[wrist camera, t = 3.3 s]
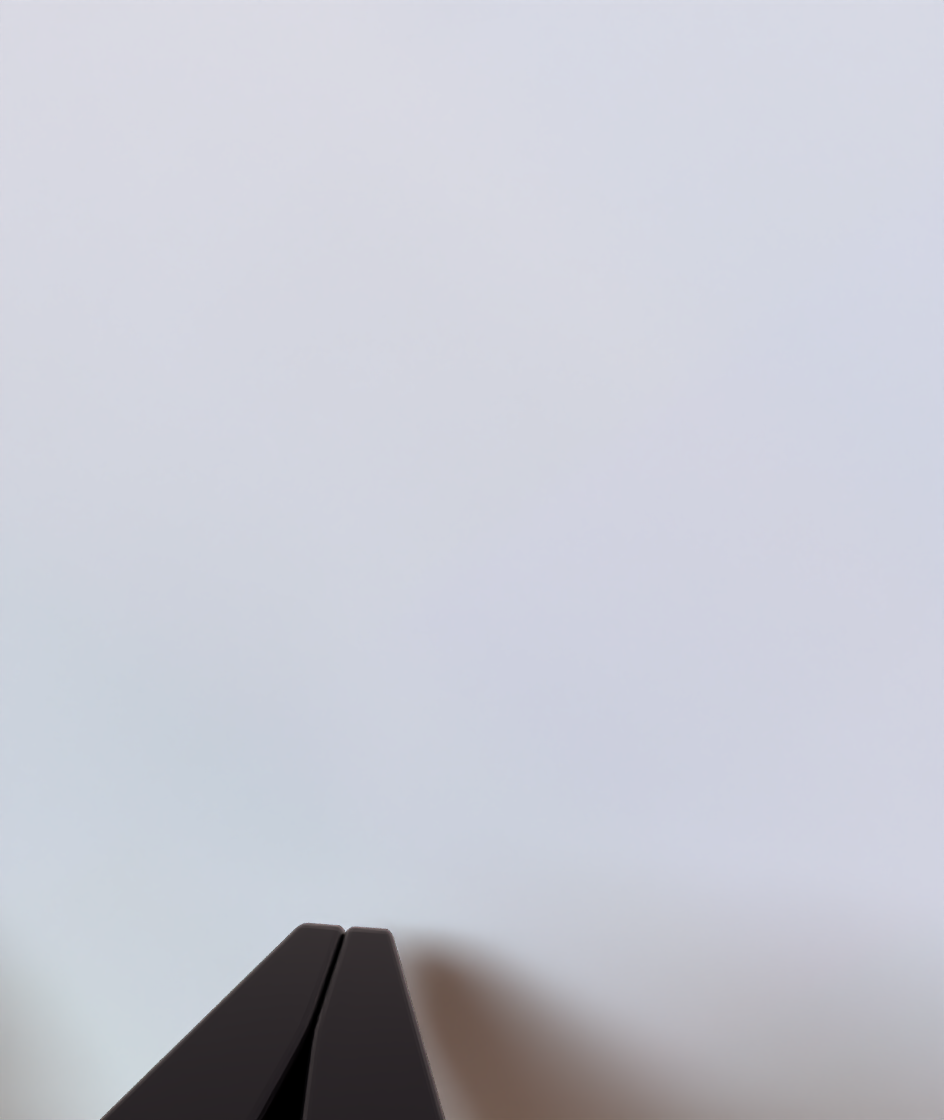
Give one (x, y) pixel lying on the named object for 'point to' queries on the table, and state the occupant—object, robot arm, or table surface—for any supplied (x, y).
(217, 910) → the table surface
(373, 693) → the table surface
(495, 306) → the table surface
